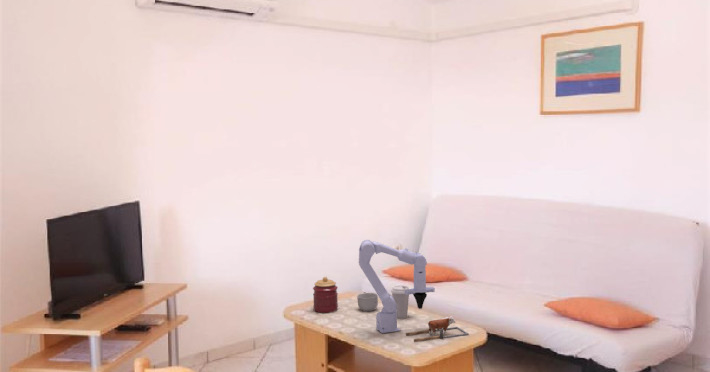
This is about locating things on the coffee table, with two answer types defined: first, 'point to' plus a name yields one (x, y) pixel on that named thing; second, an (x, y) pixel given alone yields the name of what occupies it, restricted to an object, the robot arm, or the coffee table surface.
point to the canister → (325, 296)
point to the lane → (454, 335)
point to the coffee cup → (401, 300)
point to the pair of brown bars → (426, 337)
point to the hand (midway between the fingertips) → (419, 308)
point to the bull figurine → (440, 324)
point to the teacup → (367, 301)
